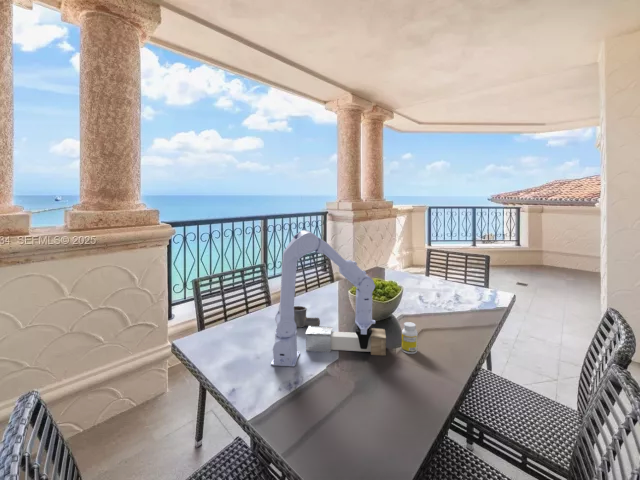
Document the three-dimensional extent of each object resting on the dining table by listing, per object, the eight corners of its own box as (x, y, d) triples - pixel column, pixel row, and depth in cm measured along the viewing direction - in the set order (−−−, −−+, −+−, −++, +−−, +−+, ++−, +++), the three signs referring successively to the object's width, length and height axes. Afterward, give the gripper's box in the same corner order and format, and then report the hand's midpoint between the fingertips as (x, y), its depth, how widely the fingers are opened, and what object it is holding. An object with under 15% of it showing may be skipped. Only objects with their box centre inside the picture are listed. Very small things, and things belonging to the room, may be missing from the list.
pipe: (317, 330, 132) (317, 311, 130) (287, 328, 134) (287, 309, 133) (321, 324, 137) (320, 306, 136) (292, 322, 140) (291, 304, 139)
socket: (385, 355, 110) (385, 337, 109) (370, 354, 111) (371, 336, 110) (384, 345, 117) (384, 328, 117) (370, 345, 118) (370, 328, 117)
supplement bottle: (405, 345, 118) (406, 319, 116) (419, 350, 114) (420, 323, 113) (398, 351, 113) (399, 324, 112) (413, 355, 110) (414, 328, 109)
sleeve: (330, 352, 113) (330, 334, 112) (305, 350, 114) (305, 333, 113) (332, 343, 120) (332, 327, 119) (309, 342, 121) (308, 326, 120)
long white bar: (376, 352, 112) (376, 338, 112) (328, 349, 115) (327, 336, 114) (376, 346, 116) (376, 333, 116) (329, 344, 119) (329, 331, 118)
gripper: (376, 316, 105) (375, 355, 107) (374, 302, 119) (374, 336, 121) (354, 315, 106) (354, 354, 108) (355, 301, 120) (355, 336, 122)
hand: (363, 345), depth 115 cm, fingers open, 4 cm apart
